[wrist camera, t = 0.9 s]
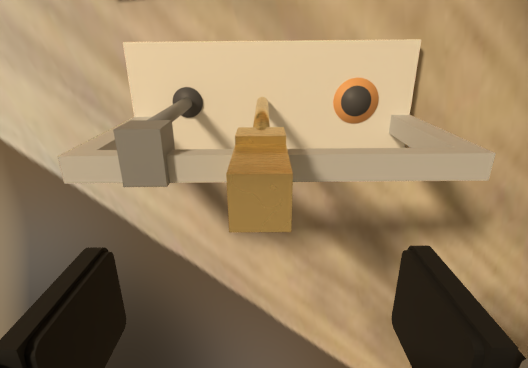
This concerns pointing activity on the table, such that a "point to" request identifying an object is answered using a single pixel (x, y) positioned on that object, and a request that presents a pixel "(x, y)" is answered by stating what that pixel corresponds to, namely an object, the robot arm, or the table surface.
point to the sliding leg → (260, 177)
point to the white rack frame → (274, 115)
